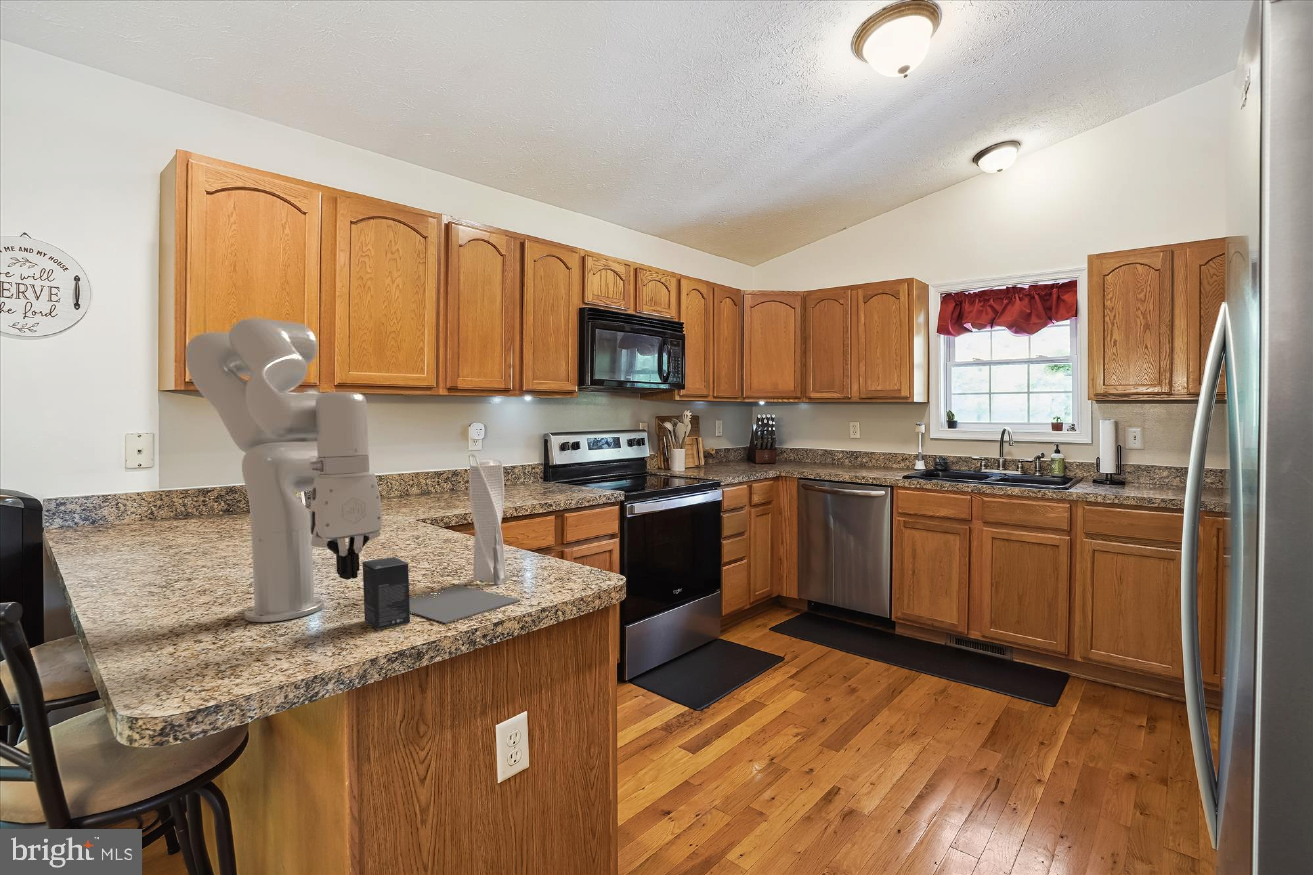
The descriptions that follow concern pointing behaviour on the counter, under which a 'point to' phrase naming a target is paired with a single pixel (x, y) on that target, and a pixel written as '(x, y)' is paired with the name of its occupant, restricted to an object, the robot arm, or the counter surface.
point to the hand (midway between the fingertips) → (348, 577)
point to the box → (386, 592)
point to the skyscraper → (487, 520)
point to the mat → (457, 603)
